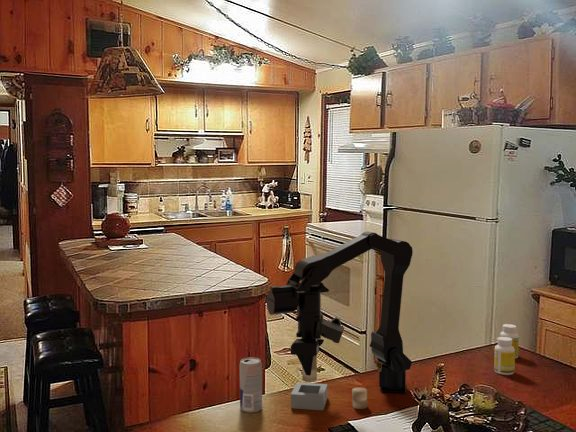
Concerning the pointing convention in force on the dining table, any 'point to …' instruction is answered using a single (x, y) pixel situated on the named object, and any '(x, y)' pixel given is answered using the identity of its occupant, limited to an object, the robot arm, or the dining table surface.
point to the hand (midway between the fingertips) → (309, 372)
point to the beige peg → (313, 373)
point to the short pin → (359, 398)
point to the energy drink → (250, 385)
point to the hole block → (309, 396)
